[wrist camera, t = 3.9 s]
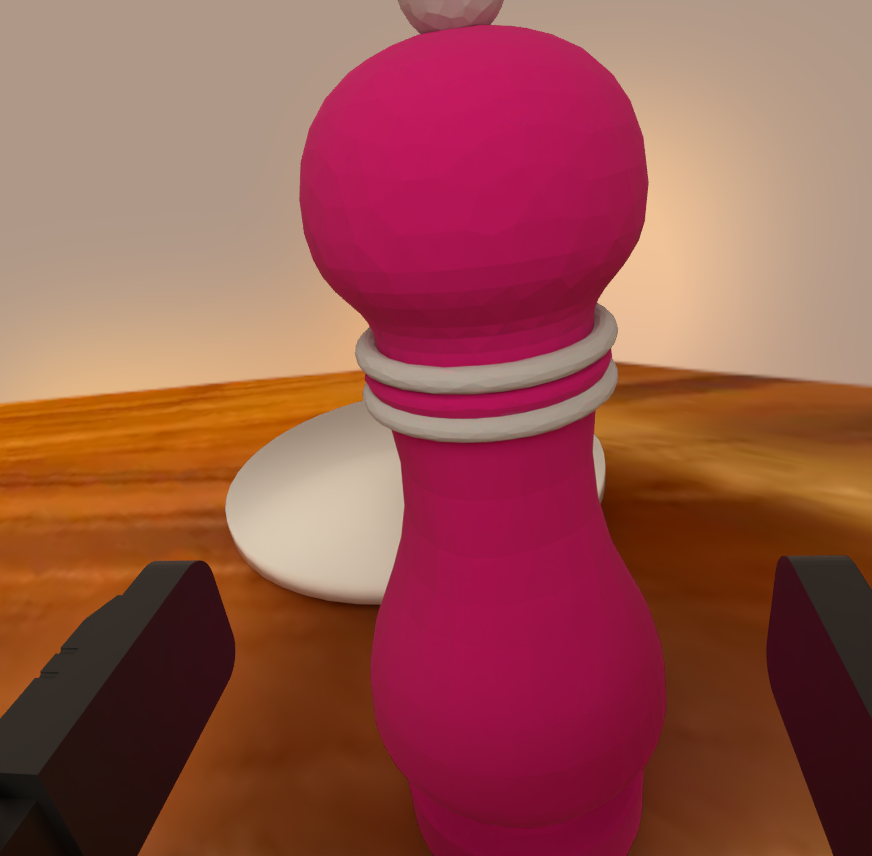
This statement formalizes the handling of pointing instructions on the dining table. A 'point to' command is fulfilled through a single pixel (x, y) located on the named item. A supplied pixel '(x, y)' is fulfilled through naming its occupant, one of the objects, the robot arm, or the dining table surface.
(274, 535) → the plate
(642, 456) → the dining table surface
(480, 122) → the pepper mill
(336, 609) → the dining table surface
